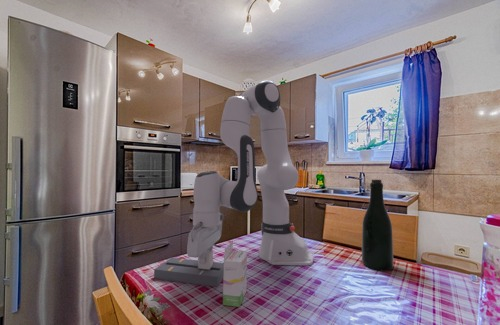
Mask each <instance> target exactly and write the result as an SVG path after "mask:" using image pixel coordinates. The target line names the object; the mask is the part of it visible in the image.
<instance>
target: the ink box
mask: <svg viewBox="0 0 500 325" xmlns="http://www.w3.org/2000/svg"><path fill="white" fill-rule="evenodd" d="M233 247H234V240H231V241H230V242H229V244H228V245H227V246H226V247H225V248H224V255H223V263H224V276H223V279H222V281H223V282H222V284H223V286H222V305H223V306H227V307H228V306H229V307H235V308H237V307H238V308H240V307H241V304H242V302H243V301H244V298H245V295H246V293H247V287H248V286H247V285H248V284H247V282H248V281H247V280H248V278H247V277H248V274H247V273H248V272H247V271H248V251H246V250H237V249H236V250H235V249H233Z"/></svg>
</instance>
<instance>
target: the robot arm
mask: <svg viewBox="0 0 500 325" xmlns="http://www.w3.org/2000/svg"><path fill="white" fill-rule="evenodd" d="M280 105H281V94H280V90H279V87H278V86H277V85H276V83H275V82H274V81H272V80H263V81H260V82H258V83H256V84H253V85H252V86H250V87H249V88H248V89H246V90H245V91H243V92H242V93H240V94H239V95H232V96H230V97H228V98H227V100H226V102H225V104H224V107H223V112H222V114H221V119H220V120H221V121H220V130H219V131H220V132H219V133H220V134H219V136H220V140H221V141H222V143H223V144H224V145H225V146H226V147H228V148H230V149H231V150H233V151H234V152H235V154H236V156H237V180H229V179H227V178H225V177H224V176H222V175H221V174H220V173H219V172H218V171H216V170H215V171H214V170H210V171H202V172H200V173H198V174H197V175H196V176H195V179H194V183H193V196H192V197H193V203H194V206H193V209H192V229H191V230H190V231H189V233H188V238H187V246H186V254H187V256H188V257H189V258H195V259H198V257H199V263H200V264H205V263H206V257H205V253H206V250H209V251H213V249H214V244H215V243H217V242H218V241H219V240H220V238H221V236H222V230H223V229H222V228H223V220H224V213H221V212H220V211H221V207H225V208H228V209H232V210H236V211H238V212H240V213H247V212H250V210H252V209H254V206H256V204H257V203H258V202H257V201H258V197H259V195H258V194H259V193H258V188H257V184H256V183H257V182H256V175H257V180H258V183H259V187H260V193H261V199H262V200H261V201H262V221H261V227H260V230H261V233H260V234H261V242H260V246H259V252H258V257H259V258H260V259H261V260H263V261H266V262H268V263H269V264H270V265H271V266H272V265H273V266H311V265H312V264H314V256H313V253H312V252H310V250H308V245H307V243H306V241H305V240H304V238H302V237H301V236H299V235H298V234H297V233H296V232H295V230H296V228H295V225H294V223H292V222H290V204H289V201H288V199H287V197H286V193H285V191H288V190H290V189H293V188H295V187H296V185H297V184H298V182H299V181H300V180H299V179H300V177H299V172H298V169H297V168H296V167H295V166H294V164H293V161H292V158H291V156H290V151H289V146H288V132H287V131H288V130H287V122H286V117H285V113H284V109H283V108H282V107H281V106H280ZM253 116H257V117H258V118H259V121H260V140H261V141H260V142H261V143H260V145H261V151H262V153H263V155H264V158H265V161H266V164H264V165H263V166H261V167H260V168H259V169H258V170H257V174H256V158H255V157H256V153H255V144H254V140H253V138H251V132H250V131H251V119H252V117H253Z"/></svg>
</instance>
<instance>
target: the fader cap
mask: <svg viewBox="0 0 500 325" xmlns="http://www.w3.org/2000/svg"><path fill="white" fill-rule="evenodd" d="M205 257H206V263H205V264H200V263H199V257H198V258H197V260H198V268H200V269H208V270H209V269H210V268H211V267H212V266H213V262H214V251H213V250H212V251H209V250H206V253H205Z"/></svg>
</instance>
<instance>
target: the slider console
mask: <svg viewBox="0 0 500 325" xmlns="http://www.w3.org/2000/svg"><path fill="white" fill-rule="evenodd" d="M153 272H154V273H153V279H155V280H160V281H161V280H162V281H163V280H164V281H168V282H176V283H183V284H185V283H186V284H192V285H199V286H207V287H215V288H218V286H219V285H220V284H221V282H222V281H223V276H224V262H215V261H213V266H212V267H211V268H210V269H209V270H208V269H200V268H198V259H197V260H196V259H187V258H178V257H170V258H169V259H167V260H166V261H164V262H163V263H161V264H160V265H159V266H157V267H156V268H154V270H153Z"/></svg>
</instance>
